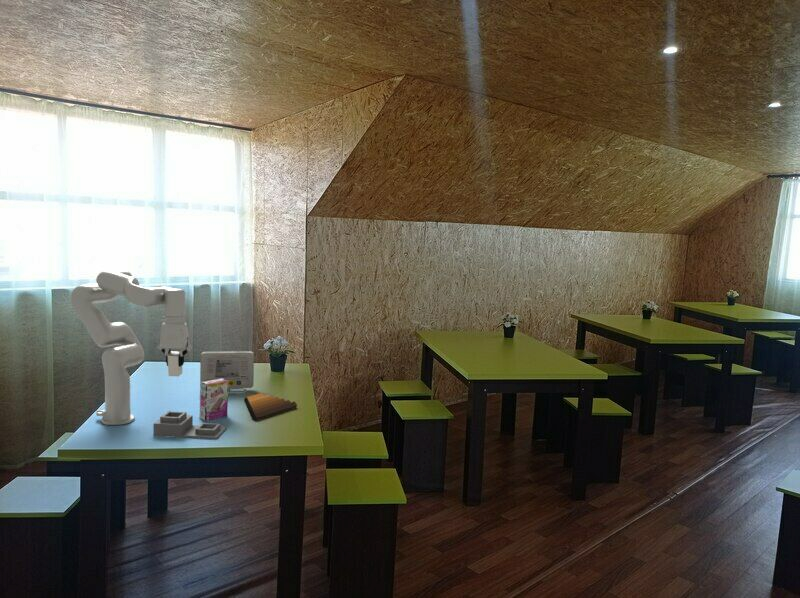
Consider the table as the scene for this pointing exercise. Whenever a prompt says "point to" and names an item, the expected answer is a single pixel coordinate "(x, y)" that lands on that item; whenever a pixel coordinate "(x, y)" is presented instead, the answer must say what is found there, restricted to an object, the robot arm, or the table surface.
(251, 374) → the network device
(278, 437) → the table surface
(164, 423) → the stepped socket base
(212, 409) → the candy bar box
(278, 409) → the pan flute
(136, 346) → the robot arm
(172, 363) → the plug
